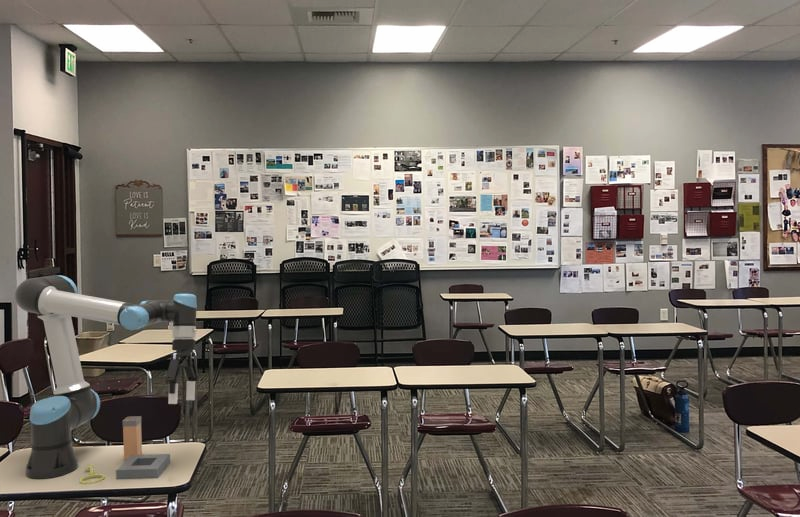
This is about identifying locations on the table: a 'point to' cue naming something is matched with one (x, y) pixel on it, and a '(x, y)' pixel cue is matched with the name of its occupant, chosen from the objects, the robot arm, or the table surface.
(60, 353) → the robot arm
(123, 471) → the socket block
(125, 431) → the plug
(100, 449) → the table surface
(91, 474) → the key
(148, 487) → the table surface
